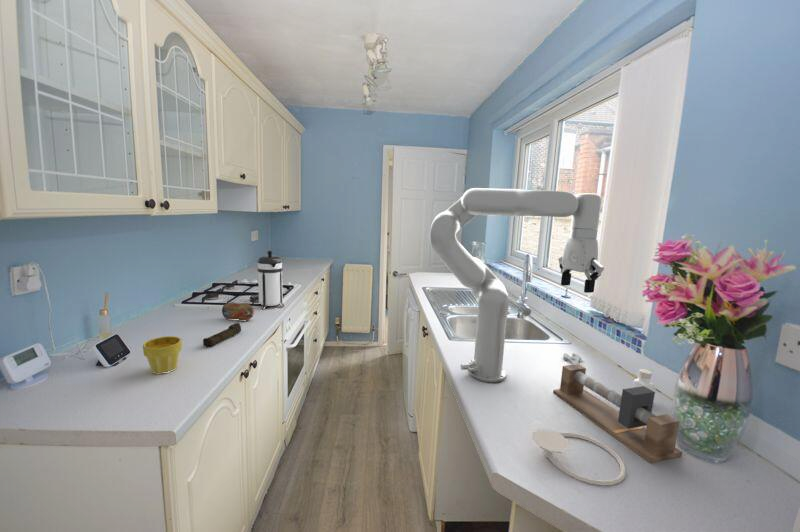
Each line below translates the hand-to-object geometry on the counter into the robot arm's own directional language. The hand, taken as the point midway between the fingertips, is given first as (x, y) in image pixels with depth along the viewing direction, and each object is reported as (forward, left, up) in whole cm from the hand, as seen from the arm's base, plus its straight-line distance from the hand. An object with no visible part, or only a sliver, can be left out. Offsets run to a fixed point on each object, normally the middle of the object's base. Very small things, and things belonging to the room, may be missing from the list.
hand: (576, 288), depth 113 cm
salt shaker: (+16, -14, -32) cm, 39 cm away
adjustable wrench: (+12, +9, -33) cm, 36 cm away
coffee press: (-97, +111, -32) cm, 151 cm away
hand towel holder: (-24, -30, -33) cm, 50 cm away
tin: (-110, +88, -33) cm, 145 cm away
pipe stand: (-3, -20, -32) cm, 38 cm away
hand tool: (-112, +64, -33) cm, 133 cm away
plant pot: (-126, +38, -32) cm, 136 cm away
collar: (-3, -27, -29) cm, 40 cm away
